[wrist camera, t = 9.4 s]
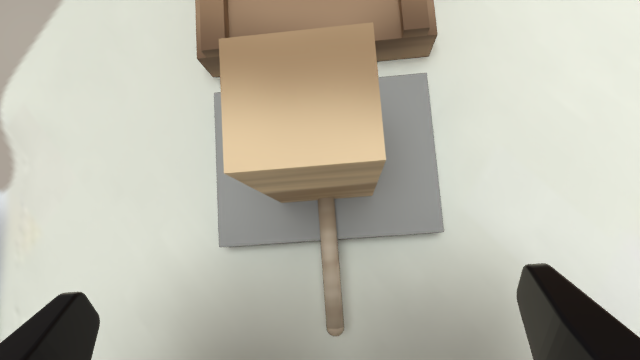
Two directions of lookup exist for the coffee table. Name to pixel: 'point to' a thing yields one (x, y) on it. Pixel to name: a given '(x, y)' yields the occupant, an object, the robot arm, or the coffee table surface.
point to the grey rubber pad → (356, 212)
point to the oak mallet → (305, 125)
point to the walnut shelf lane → (317, 23)
